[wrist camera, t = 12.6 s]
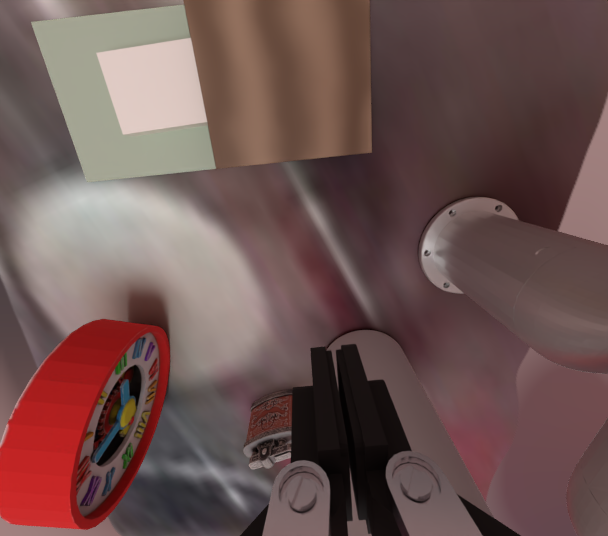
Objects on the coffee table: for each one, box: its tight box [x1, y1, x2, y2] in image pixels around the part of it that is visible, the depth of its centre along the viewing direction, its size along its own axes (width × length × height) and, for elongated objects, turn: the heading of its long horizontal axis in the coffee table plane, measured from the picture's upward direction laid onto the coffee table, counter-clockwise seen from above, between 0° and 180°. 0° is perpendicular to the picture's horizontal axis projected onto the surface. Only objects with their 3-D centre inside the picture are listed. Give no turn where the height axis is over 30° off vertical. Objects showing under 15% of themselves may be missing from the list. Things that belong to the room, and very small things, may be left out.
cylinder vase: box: [326, 330, 494, 536], centre depth 32 cm, size 12×12×25 cm
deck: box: [184, 0, 372, 169], centre depth 29 cm, size 16×15×4 cm
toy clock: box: [0, 319, 170, 530], centre depth 33 cm, size 20×6×20 cm, turn 171°
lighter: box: [243, 389, 292, 469], centre depth 41 cm, size 8×3×10 cm, turn 114°
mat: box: [31, 5, 216, 182], centre depth 31 cm, size 15×15×1 cm
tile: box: [96, 38, 208, 136], centre depth 29 cm, size 9×7×2 cm
